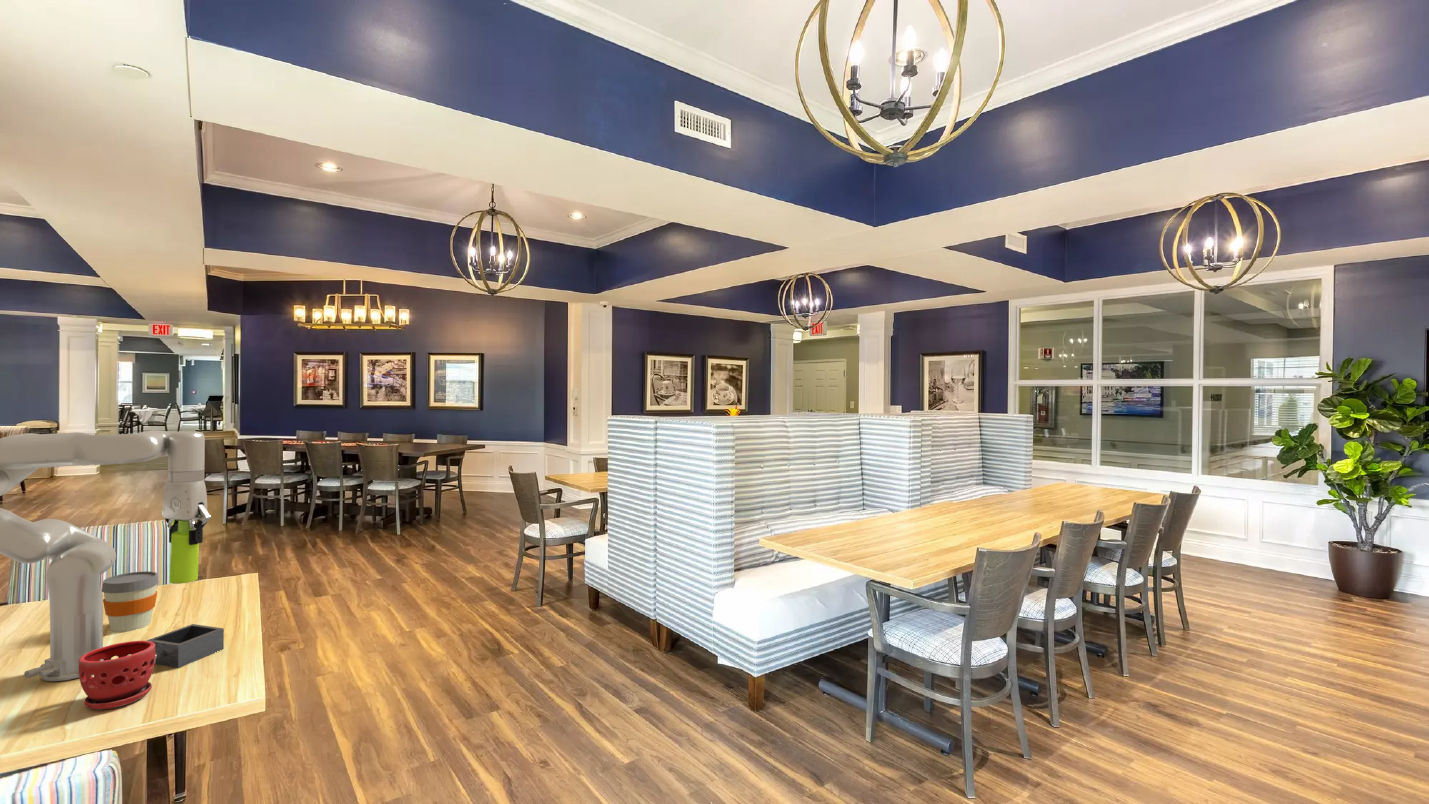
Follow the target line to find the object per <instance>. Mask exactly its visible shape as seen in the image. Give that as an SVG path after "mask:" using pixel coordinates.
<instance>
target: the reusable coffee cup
mask: <svg viewBox="0 0 1429 804" xmlns="http://www.w3.org/2000/svg"><path fill="white" fill-rule="evenodd" d="M158 584H159V577H158V573H157V572H156V571H145V570H144V571H134V572H125V573H121V574H117V575H113V576H109V577H107V578H105V579H103V581H102V585H101V589H102V593H103V596H104V598H103V610H104V614H105V615H106V616H107V620H108V624H109V631H110V632H112V633H125V632H132V631H137V630H141V629H142V628H145V626H146V627H148V626H149V625H150V624H151V622H152V615H153V609H154V608H155V607H156V603H157V596H158V591H157V586H158ZM136 629H137V630H136Z"/></svg>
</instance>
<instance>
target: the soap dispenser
mask: <svg viewBox="0 0 1429 804" xmlns="http://www.w3.org/2000/svg"><path fill="white" fill-rule="evenodd" d="M189 530H191V527H190V524H189V521H184V520H178V531H177V532H174V533H172V534H171V543H170V559H169V560H170V561H169V562H170V563H169V580H168V581H169V582H168V583H170V584H175V585H177V584H180V585H181V584H189V583H192V582H195V581H197V580H198V577H199V559H200V557H199V555H200V543H199V544H194V545H189Z"/></svg>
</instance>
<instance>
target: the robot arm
mask: <svg viewBox="0 0 1429 804" xmlns="http://www.w3.org/2000/svg"><path fill="white" fill-rule="evenodd" d="M205 439H206V438H205V435H204V433H203V432H202V431H197V430H196V431H194V430H185V431H170V430H169V431H167V430H160V429H159V430H158V429H157V430H156V429H153V430H147V431H141V432H135V433H121V434H120V433H119V434H88V433H85V432H76V431H75V432H59V433H58V432H57V433H41V434H40V433H31V432H27V433H20V434H14V435H8V436H4V437H1V438H0V497H1V496H4V495H5V494H6V493H8V492H9V491H11V490H13V488H15V487H17V486H18V485H19V484H20V483H22V482H23V481H24V480H26V479H27V478H28V477H29V476H30V475H32V474H33V473H35V472H36V471H37V470H38V469H43V468H44V469H45V468H57V467H61V468H62V467H64V468H65V467H78V466H79V467H80V466H84V467H85V466H93V465H94V466H96V465H97V466H99V465H103V466H105V465H117V464H118V465H119V464H133V463H135V464H136V463H144V462H148V461H152V460H154V459H159V458H164V457H167V459H168V462H167V467H168V468H167V469H168V470H167V472H168V473H167V480H168V481H166V483H165V487H164V491H163V492H164V493H163V500H162V512H161V516H162V517H163V518H164V520H165V522H166V523H167V526H166V527H167V528H168V531H169V532H168V542H169V543H170V544H171V534H172V533H174V532H177V531H178V520H184V521H189V524H190V527H191V530H189V545H194V544H199V545H200V544H202V543H203V542H204V541H203V537H204V536H203V534H204V533H203V532H204V531H203V529H204V528H205V527H206V526H205V525H206V524H207V523H208V522H209V520H210V519H211V518H212V516H211V514H210V513H209V511H208V496H207V487H206V482H205V465H206V464H205V457H206V455H205V453H206V452H205V449H206V447H205V446H206V445H205V444H206V440H205ZM195 521H197V522H196V523H195ZM0 555H2V556H4V557H6V558H8V559H10V560H13V561H15V562H17V563H20V564H33V563H34V564H35V563H38V562H40V561H43V560H45V559H49V560H51V562H50V563H49V564H48V567H47V568H46V571H45V572H46V573H45V581H46V586H47V591H48V596H49V598H48V599H49V600H48V601H49V655H50V656H49V658H47V659H46V658H45V659H44V663H43V664H41V665H40V666H38V667H34V668H31V669H28V670H26V671H24V672H23V676H24V678H25V679H26V680H28V679H30V678H33V677H36V676H39V677H40V678H41V679H42V680H43V681H45V682H62V681H69V680H75V679H80V678H79V668H78V665H79V659H80V657H81V656H83V655H84V654H86V653H88V652H91V651H93V650H96V649H99V648H102V647H104V642H103V641H104V639H103V638H104V634H103V633H104V630H103V627H104V619H103V616H104V615H103V614H104V612H103V611H104V603H103V599H104V598H103V596H104V595H103V592H102V585H101V580H100V577H101V575H102V574H104V573H105V572H107V571H108V570H110V568H111V567H112V566H113V565H114V564H115V562H116V559H117V554H116V550H115V548H114V547H113V546H112V545H111V544H110V543H108V542H107V541H105V540H104V539H101V538H100V537H98V536H96V535H94V534H92V533H90V532H89V531H86V530H84V529H82V528H80V527H78V526H76V525H74V524H72V523H70V522H68V521H66V520H65V521H64V520H61V519H58V518H57V519H56V518H44V519H39V520H37V521H34V522H33V521H30V520H28V519H26V518H24V517H22V516H19V515H17V514H16V513H14V512H12V511H10V510H8V509H5V508H2V507H0ZM100 661H104V659H101V660H100Z"/></svg>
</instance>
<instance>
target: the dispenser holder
mask: <svg viewBox="0 0 1429 804" xmlns="http://www.w3.org/2000/svg"><path fill="white" fill-rule="evenodd" d="M224 629H225V628H223V627H216V626H209V625H203V624H195V623H194V624H193V623H192V624H191V623H190V624H189V625H186V626H183V627H180V628H178V629H175V630H172V631H169V632H166V633H164V634H160V635H159V636H155V637H152V638H149V639H146V640H145V641H151V642H153V643H154V644H155V664H154V665H155V666H156V665H158V666H162V667H169V668H176V669H180V668H182V667H185V666H187V665H189V664H193V663H194V662H196V661H199V660H201V659H203V658H206V656H207V657H208V656H211V655H213V654H214V655H215V654H216V653H218V652H217V651H219V652H220V650H221V651H223V650H222V649H224V648H225V647H224V645H225V644H224V643H225V642H224V641H225V640H224V639H225V638H224V637H225V632H224V631H225V630H224ZM215 652H216V653H215Z"/></svg>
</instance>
